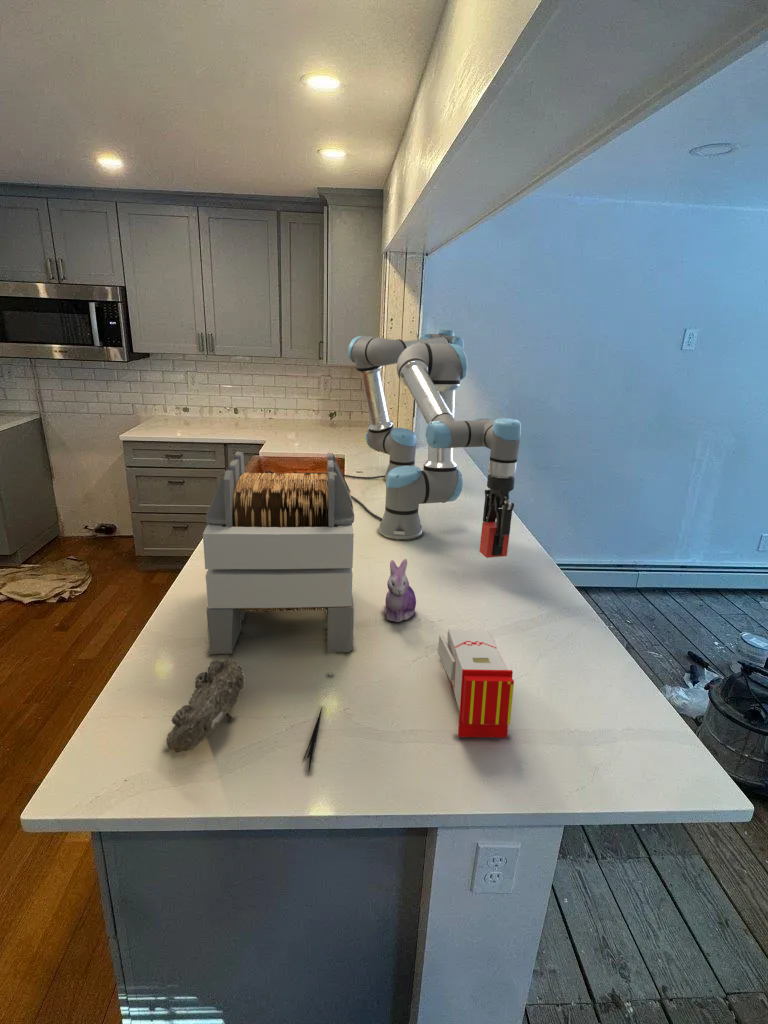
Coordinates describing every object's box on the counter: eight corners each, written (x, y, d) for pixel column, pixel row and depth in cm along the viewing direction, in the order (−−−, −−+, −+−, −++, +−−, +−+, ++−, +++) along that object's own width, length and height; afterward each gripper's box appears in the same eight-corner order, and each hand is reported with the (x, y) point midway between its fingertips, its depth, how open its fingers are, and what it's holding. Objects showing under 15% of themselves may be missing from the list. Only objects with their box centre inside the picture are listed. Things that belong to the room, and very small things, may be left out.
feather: (331, 679, 122) (336, 673, 122) (307, 777, 96) (313, 769, 95) (324, 675, 122) (329, 669, 121) (298, 772, 95) (304, 764, 95)
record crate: (229, 585, 158) (221, 442, 144) (346, 584, 161) (350, 444, 148) (206, 656, 126) (193, 481, 112) (353, 652, 130) (358, 483, 116)
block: (506, 556, 166) (510, 526, 163) (486, 557, 164) (489, 528, 161) (499, 549, 170) (503, 521, 167) (479, 551, 168) (482, 522, 165)
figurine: (392, 627, 141) (395, 572, 136) (374, 608, 149) (376, 556, 144) (425, 619, 145) (429, 566, 140) (405, 601, 154) (408, 550, 149)
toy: (488, 613, 130) (523, 677, 101) (484, 667, 133) (517, 744, 104) (435, 612, 130) (455, 676, 101) (432, 666, 133) (451, 743, 103)
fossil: (192, 660, 117) (244, 628, 112) (224, 691, 120) (276, 661, 115) (142, 746, 98) (202, 712, 93) (182, 779, 101) (242, 748, 96)
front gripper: (529, 483, 152) (518, 562, 160) (499, 466, 168) (490, 539, 176) (504, 484, 150) (494, 564, 157) (476, 467, 166) (468, 540, 173)
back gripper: (461, 365, 267) (457, 410, 274) (442, 360, 290) (439, 402, 297) (446, 365, 265) (443, 410, 272) (428, 360, 288) (425, 402, 295)
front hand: (492, 551), depth 166 cm, fingers closed on block, 5 cm apart
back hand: (441, 406), depth 285 cm, fingers open, 13 cm apart
